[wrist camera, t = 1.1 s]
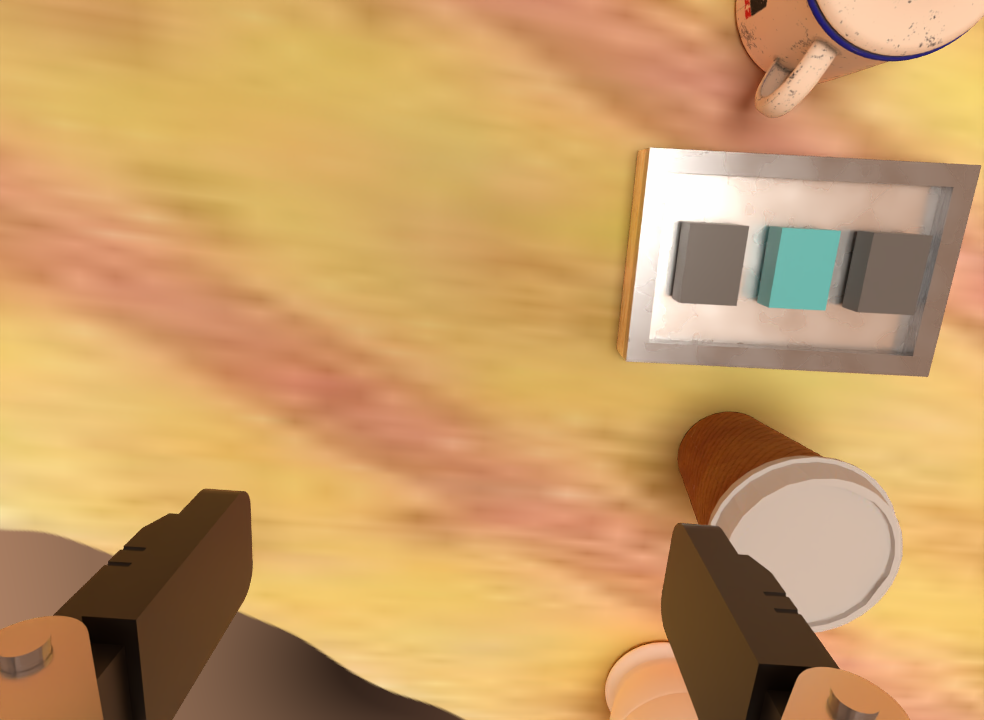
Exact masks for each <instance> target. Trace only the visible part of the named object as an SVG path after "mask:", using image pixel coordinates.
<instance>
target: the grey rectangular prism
mask: <svg viewBox="0 0 984 720" xmlns="http://www.w3.org/2000/svg"><path fill="white" fill-rule="evenodd" d="M748 231H749V226H746V225H739V224H722V223H703V222H684V221H682V225H681V232H680V240H679V248H678V255H677V263H676V271H675V278H674V286H673V294H672V299H674V300H676V301H677V302H679V303H687V304H706V305H726V306H737V300H738V294H739V288H740V282H741V275H742V269H743V263H744V257H745V250H746V244H747V238H748Z"/></svg>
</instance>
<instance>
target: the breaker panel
mask: <svg viewBox="0 0 984 720" xmlns="http://www.w3.org/2000/svg"><path fill="white" fill-rule="evenodd" d="M980 169H981V165H965V164H947V163H928V162H909V161H890V160H872V159H853V158H834V157H815V156H797V155H778V154H759V153H740V152H722V151H703V150H684V149H665V148H647V149H643V150H640V151H638V155H637V164H636V174H635V183H634V192H633V201H632V211H631V220H630V229H629V238H628V247H627V257H626V266H625V275H624V284H623V293H622V303H621V312H620V321H619V330H618V340H617V350H618V351H619V353H620V354H621V355H622V357H623V358H624V359H625V361H629V362H649V363H668V364H688V365H708V366H727V367H747V368H766V369H786V370H806V371H825V372H845V373H864V374H884V375H904V376H923V377H928V375H929V371H930V367H931V363H932V359H933V355H934V351H935V347H936V343H937V339H938V335H939V332H940V328H941V324H942V320H943V316H944V312H945V308H946V304H947V300H948V296H949V292H950V288H951V284H952V280H953V276H954V272H955V268H956V264H957V260H958V256H959V252H960V248H961V244H962V240H963V236H964V232H965V228H966V224H967V220H968V216H969V212H970V208H971V204H972V201H973V197H974V193H975V189H976V185H977V181H978V177H979V173H980ZM682 221H684V222H703V223H722V224H739V225H746V226H749V231H748V238H747V244H746V250H745V257H744V263H743V269H742V275H741V282H740V288H739V294H738V300H737V306H726V305H706V304H687V303H679V302H677V301H676V300H674V299H672V294H673V286H674V278H675V271H676V263H677V255H678V248H679V240H680V232H681V225H682ZM770 226H779V227H798V228H817V229H830V230H839V231H841V235H840V240H839V245H838V250H837V255H836V260H835V265H834V270H833V275H832V280H831V285H830V290H829V295H828V300H827V305H826V310H825V311H822V310H803V309H784V308H768V307H766V306H763V305H761V304H759V303H757V299H758V293H759V288H760V282H761V276H762V270H763V264H764V258H765V252H766V246H767V240H768V234H769V228H770ZM857 231H874V232H893V233H912V234H922V235H932V236H933V237H932V242H931V246H930V250H929V254H928V258H927V263H926V267H925V271H924V275H923V279H922V283H921V288H920V292H919V296H918V300H917V304H916V309H915V313H914V315H900V314H880V313H861V312H855V311H852V310H849V309H846V308H843V307H842V304H843V299H844V294H845V289H846V285H847V280H848V275H849V270H850V265H851V260H852V255H853V251H854V246H855V241H856V236H857Z"/></svg>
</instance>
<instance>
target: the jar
mask: <svg viewBox="0 0 984 720" xmlns="http://www.w3.org/2000/svg"><path fill="white" fill-rule="evenodd" d="M605 697H606V702H607V705H608V708H609V710H610V712H611V715H610V720H698V717H697V714H696V712H695V709H694V706H693V704H692V701H691V698H690V696H689V693H688V691H687V688H686V685H685V683H684V680H683V677H682V675H681V672H680V669H679V667H678V664H677V661H676V659H675V656H674V654H673V651H672V648H671V646H670V643H669V642H657V643H650V644H646V645H642V646H640V647H637V648H635V649H633V650H631V651H630V652H628V653H626V654H625V655H624V656H622V657H621V658H620V659H619V660H618V661H617V662H616V663H615V665H614V666H613V668H612V669H611V671H610V673H609V675H608V678H607V681H606V686H605Z"/></svg>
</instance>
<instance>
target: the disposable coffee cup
mask: <svg viewBox="0 0 984 720" xmlns="http://www.w3.org/2000/svg"><path fill="white" fill-rule="evenodd" d="M678 466H679V470H680V473H681V476H682V478H683V481H684V484H685V487H686V490H687V492H688V495H689V498H690V501H691V504H692V507H693V510H694V512H695V515H696V518H697V521H698V524H699V525H714V526H719V527H720V528H721V529H722V530H723V532H724V533H725V535H726V536H727V538H728V539H729V541H730V542H731V544H732V545H733V547H734V548H735V550H736V551H737V553H738V554H742V555H749V556H750V557H752V558H753V559H754V560H756V561H757V562H758V563H760V564H761V565H762V566H763V567H765V568H766V569H767V570H769V571H770V572H771V573H772V574H773V575H774V577H775V578H776V580H777V581H778V582H779V584H780V585H781V587H782V588H783V589H784V591H785V592H786V597H789V598H790V599H791V601H792V602H793V604H794V605H795V606H796V608H797V609H798V614H801V615H802V616H803V618H804V619H805V620H806V622H807V623H808V625H809V626H810V628H811V629H812V630H813V632H822V631H826V630H830V629H833V628H837V627H839V626H842V625H844V624H847V623H849V622H851V621H852V620H854V619H856V618H858V617H859V616H861V615H863V614H864V613H865V612H867V611H868V610H869V609H870V608H872V607H873V606H874V605H875V604H876V603H877V602H878V601H879V600H880V599H881V598H882V597H883V596H884V594H885V593H886V592H887V590H888V589H889V588H890V586H891V585H892V583H893V581H894V579H895V577H896V575H897V573H898V570H899V566H900V563H901V559H902V532H901V529H900V526H899V523H898V520H897V518H896V516H895V512H894V509H893V505H892V503H891V501H890V499H889V497H888V496H887V494H886V492H885V491H884V490H883V488H882V487H881V486H880V485H879V484H878V483H877V482H876V480H875V479H873V478H872V477H871V476H870V475H868V474H867V473H866V472H864V471H863V470H861V469H859V468H857V467H856V466H854V465H852V464H849V463H846V462H843V461H840V460H838V459H833V458H826V457H822V456H820V455H819V454H817V453H815V452H813V451H812V450H810V449H808V448H806V447H805V446H802V445H801V444H800V443H797V442H795V441H794V440H792V439H790V438H788V437H786V436H784V435H783V434H781V433H779V432H777V431H775V430H773V429H772V428H770V427H768V426H766V425H764V424H763V423H761V422H759V421H757V420H755V419H754V418H753V417H750V416H748V415H746V414H742V413H738V412H723V413H717V414H713V415H711V416H708V417H706V418H704V419H702V420H700V421H699V422H698V423H696V424H695V425H694V426H693V427H692V428H691V429H690V430H689V431H688V432H687V433H686V435H685V437H684V439H683V440H682V442H681V445H680V448H679V452H678Z"/></svg>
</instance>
